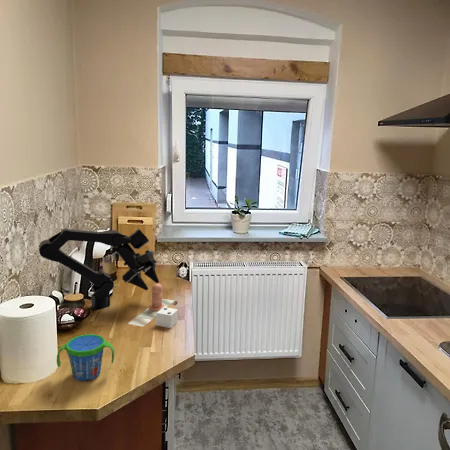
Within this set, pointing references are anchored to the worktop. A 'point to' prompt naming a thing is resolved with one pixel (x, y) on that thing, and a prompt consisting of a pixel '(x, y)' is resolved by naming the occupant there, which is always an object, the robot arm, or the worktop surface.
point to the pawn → (156, 298)
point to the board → (149, 314)
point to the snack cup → (85, 355)
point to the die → (167, 317)
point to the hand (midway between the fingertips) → (152, 286)
